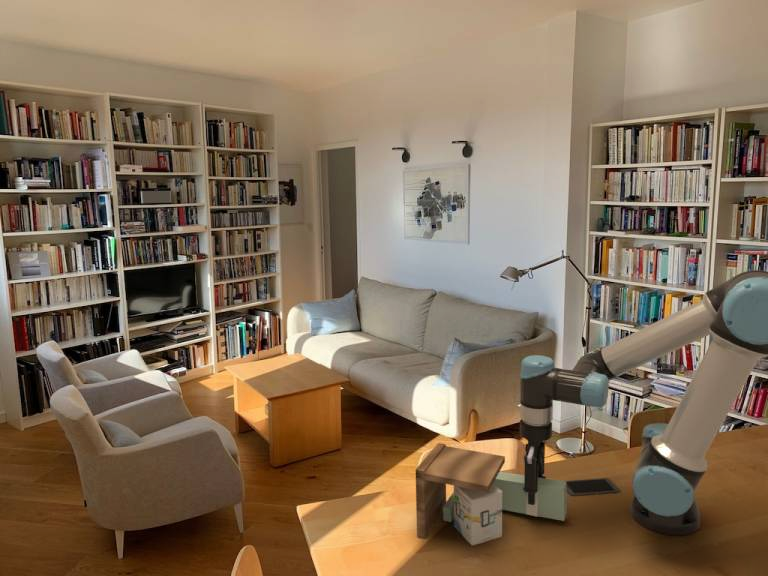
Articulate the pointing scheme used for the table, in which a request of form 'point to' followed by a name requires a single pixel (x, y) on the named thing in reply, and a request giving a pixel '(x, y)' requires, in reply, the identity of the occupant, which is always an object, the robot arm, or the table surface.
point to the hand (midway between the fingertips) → (534, 509)
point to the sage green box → (524, 497)
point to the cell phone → (591, 487)
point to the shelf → (450, 479)
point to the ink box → (478, 514)
